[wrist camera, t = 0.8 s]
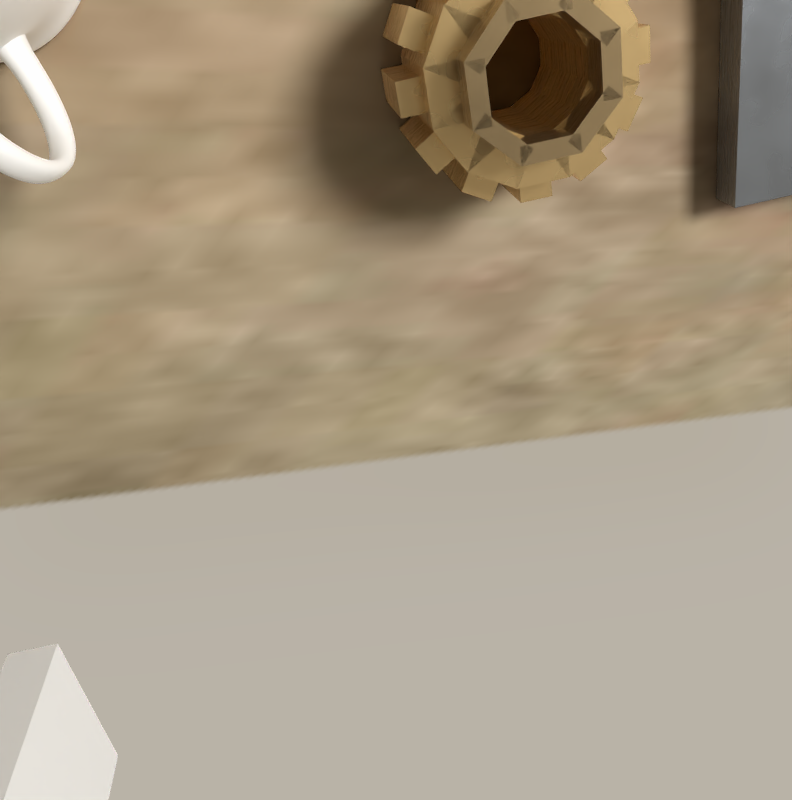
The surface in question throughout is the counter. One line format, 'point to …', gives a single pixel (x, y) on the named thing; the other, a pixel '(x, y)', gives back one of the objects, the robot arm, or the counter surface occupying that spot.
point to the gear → (533, 113)
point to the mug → (36, 86)
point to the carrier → (755, 102)
